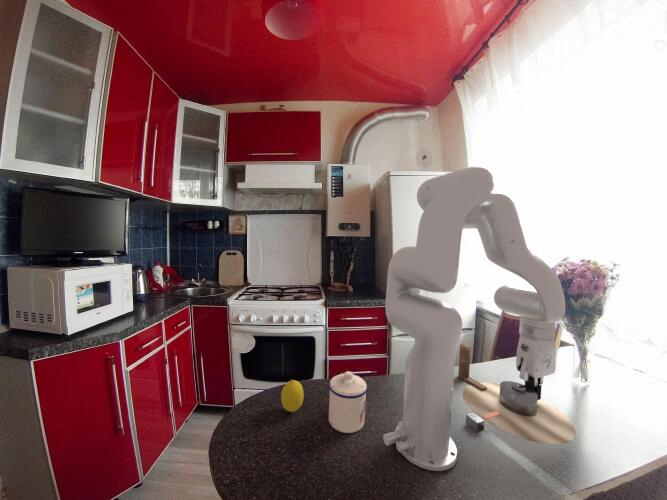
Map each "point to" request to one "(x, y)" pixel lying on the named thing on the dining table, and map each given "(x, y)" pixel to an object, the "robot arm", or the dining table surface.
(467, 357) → the turntable
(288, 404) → the lemon
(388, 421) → the dining table surface
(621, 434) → the dining table surface
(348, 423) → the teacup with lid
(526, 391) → the cover
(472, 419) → the speckled grey block
